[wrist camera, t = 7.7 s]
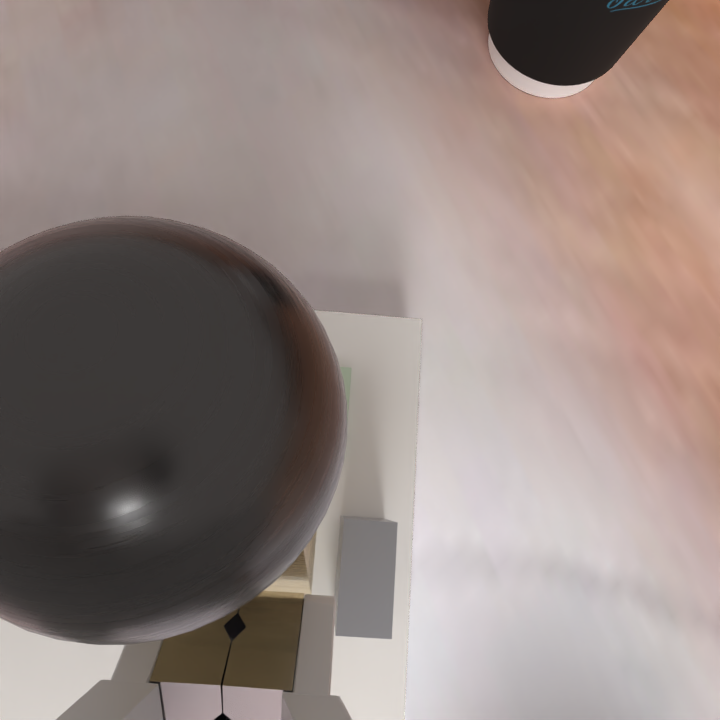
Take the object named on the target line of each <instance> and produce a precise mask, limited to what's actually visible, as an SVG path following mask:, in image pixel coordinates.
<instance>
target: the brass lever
mask: <svg viewBox="0 0 720 720" xmlns="http://www.w3.org/2000/svg"><path fill="white" fill-rule="evenodd" d="M346 444H347V400H346V393H345V386H344V379H343V376H342V372H341V369H340V365H339V362H338V358H337V356H336V353H335V351H334V349H333V346H332V344H331V342H330V340H329V337H328V335H327V333H326V331H325V328H324V326H323V325H322V323H321V321H320V320H319V318H318V317H317V315H316V313H315V312H314V310H313V309H312V307H311V306H310V305H309V303H308V302H307V301H306V300H305V299H304V297H303V296H302V295H301V294H300V293H299V291H298V290H297V289H296V288H295V287H294V286H293V284H292V283H291V282H290V281H289V280H288V279H287V278H286V277H285V276H283V275H282V274H281V273H280V272H279V271H278V270H277V269H276V268H275V267H274V266H273V265H271V264H270V263H268V262H267V261H265V260H264V259H263V258H261V257H260V256H258V255H257V254H255V253H254V252H252V251H251V250H249V249H247V248H246V247H244V246H242V245H240V244H238V243H237V242H235V241H233V240H231V239H229V238H227V237H225V236H223V235H220V234H218V233H215V232H212V231H210V230H207V229H205V228H201V227H198V226H194V225H190V224H186V223H182V222H178V221H173V220H168V219H161V218H154V217H142V216H117V217H102V218H96V219H90V220H84V221H78V222H74V223H70V224H67V225H63V226H59V227H55V228H52V229H49V230H46V231H44V232H41V233H38V234H36V235H33V236H30V237H28V238H26V239H24V240H22V241H20V242H18V243H16V244H14V245H12V246H10V247H8V248H6V249H5V250H3V251H1V252H0V618H1V619H3V620H5V621H7V622H9V623H11V624H13V625H15V626H17V627H20V628H22V629H24V630H26V631H29V632H32V633H35V634H39V635H42V636H46V637H49V638H53V639H56V640H62V641H70V642H77V643H85V644H93V645H132V644H139V643H145V642H152V641H158V640H163V639H167V638H170V637H174V636H177V635H180V634H184V633H187V632H191V631H193V630H196V629H198V628H200V627H203V626H205V625H207V624H209V623H212V622H214V621H216V620H218V619H221V618H223V617H225V616H227V615H228V614H230V613H232V612H233V611H235V610H237V609H238V608H240V607H241V606H243V605H245V604H246V603H248V602H250V601H251V600H253V599H254V598H255V597H256V596H258V595H259V594H260V593H261V592H263V591H276V592H294V593H305V594H311V593H312V581H313V570H314V558H315V546H316V534H317V529H318V527H319V525H320V523H321V522H322V520H323V518H324V517H325V515H326V513H327V510H328V508H329V506H330V503H331V501H332V499H333V496H334V494H335V491H336V489H337V486H338V482H339V479H340V475H341V472H342V468H343V464H344V459H345V451H346Z"/></svg>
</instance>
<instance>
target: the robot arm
mask: <svg viewBox="0 0 720 720" xmlns="http://www.w3.org/2000/svg"><path fill="white" fill-rule="evenodd" d="M304 595H305V599H304ZM335 608H336V599H335V596H328V595H311V594H305V593H294V592H276V591H263V592H261V593H260V594H259V595H258V596H256V597H255V598H254V599H253V600H251V601H250V602H248V603H246V604H245V605H243V606H241V607H240V608H238V609H237V610H235V611H233V612H232V613H230V614H228V615H227V616H225V617H223V618H221V619H218V620H216V621H214V622H212V623H209V624H207V625H205V626H203V627H200V628H198V629H196V630H193V631H191V632H187V633H184V634H180V635H177V636H174V637H170V638H167V639H163V640H158V641H152V642H145V643H139V644H132V645H124V648H123V650H122V653H121V655H120V658H119V660H118V663H117V665H116V668H115V670H114V673H113V675H112V677H111V680H100V681H99V682H97V683H96V684H95V685H94V686H93V687H92V688H91V689H90V690H88V691H87V692H86V693H85V694H84V695H83V696H82V697H81V698H79V699H78V700H77V701H76V702H75V703H74V704H73V705H71V706H70V707H69V708H68V709H67V710H66V711H65V712H64V713H62V714H61V715H60V716H59V717H58V718H57V719H56V720H352V718H351V716H350V714H349V713H348V711H347V709H346V707H345V705H344V703H343V701H342V700H341V698H340V696H336V695H330V690H331V674H332V657H333V641H334V625H335Z"/></svg>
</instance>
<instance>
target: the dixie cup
mask: <svg viewBox="0 0 720 720" xmlns="http://www.w3.org/2000/svg"><path fill="white" fill-rule="evenodd" d="M668 1H669V0H490V5H489V10H488V29H489V37H488V48H489V53H490V56H491V59H492V61H493V63H494V65H495V67H496V69H497V70H498V72H499V73H500V74H501V75H502V76H503V77H504V78H505V79H506V80H507V81H508V82H509V83H510V84H512V85H513V86H515V87H516V88H518V89H520V90H522V91H524V92H526V93H529V94H531V95H535V96H539V97H545V98H561V97H567V96H571V95H574V94H576V93H578V92H580V91H582V90H584V89H585V88H587V87H588V86H589V85H590V84H591V83H592V82H593V81H594V80H595V79H597V78H599V77H600V76H602V75H603V74H605V73H606V72H607V71H609V70H610V69H611V68H612V67H613V66H614V64H615V63H616V62H617V61H618V60H619V58H620V57H621V56H622V55H623V54H624V53H625V51H626V50H627V49H628V48H629V47H630V46H631V44H632V43H633V42H634V41H635V40H636V38H637V37H638V36H639V35H640V34H641V33H642V31H643V30H644V29H645V28H646V27H647V25H648V24H649V23H650V22H651V21H652V20H653V18H654V17H655V16H656V15H657V14H658V12H659V11H660V10H661V9H662V8H663V7H664V5H665V4H666V3H667V2H668Z"/></svg>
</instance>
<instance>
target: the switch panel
mask: <svg viewBox="0 0 720 720" xmlns="http://www.w3.org/2000/svg"><path fill="white" fill-rule="evenodd" d="M314 312H315V313H316V315H317V317H318V318H319V320H320V321H321V323H322V325H323V326H324V328H325V331H326V333H327V335H328V337H329V340H330V342H331V344H332V346H333V349H334V351H335V353H336V356H337V358H338V362H339V365H340V369H341V372H342V376H343V379H344V386H345V393H346V400H347V444H346V451H345V459H344V464H343V468H342V472H341V475H340V479H339V482H338V486H337V489H336V491H335V494H334V496H333V499H332V501H331V503H330V506H329V508H328V510H327V513H326V515H325V517H324V518H323V520H322V522H321V523H320V525H319V527H318V529H317V534H316V546H315V558H314V570H313V581H312V593H311V595H328V596H335V599H336V608H335V625H334V641H333V657H332V674H331V690H330V695H336V696H340V698H341V700H342V701H343V703H344V705H345V707H346V709H347V711H348V713H349V714H350V716H351V718H352V720H405V699H406V676H407V654H408V631H409V609H410V586H411V563H412V541H413V518H414V496H415V473H416V451H417V428H418V406H419V383H420V360H421V338H422V319H416V318H404V317H392V316H380V315H368V314H356V313H344V312H332V311H320V310H314ZM304 599H305V595H304ZM123 648H124V645H93V644H85V643H77V642H70V641H62V640H56V639H53V638H49V637H46V636H42V635H39V634H35V633H32V632H29V631H26V630H24V629H22V628H20V627H17V626H15V625H13V624H11V623H9V622H7V621H5V620H3V619H1V618H0V720H56V719H57V718H58V717H59V716H60V715H61V714H62V713H64V712H65V711H66V710H67V709H68V708H69V707H70V706H71V705H73V704H74V703H75V702H76V701H77V700H78V699H79V698H81V697H82V696H83V695H84V694H85V693H86V692H87V691H88V690H90V689H91V688H92V687H93V686H94V685H95V684H96V683H97V682H99V681H100V680H111V677H112V675H113V673H114V670H115V668H116V665H117V663H118V660H119V658H120V655H121V653H122V650H123Z"/></svg>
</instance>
